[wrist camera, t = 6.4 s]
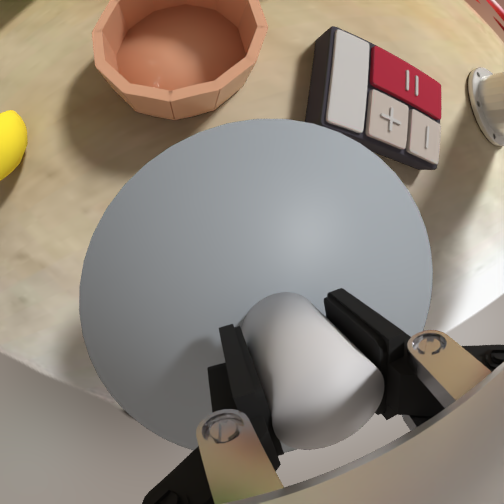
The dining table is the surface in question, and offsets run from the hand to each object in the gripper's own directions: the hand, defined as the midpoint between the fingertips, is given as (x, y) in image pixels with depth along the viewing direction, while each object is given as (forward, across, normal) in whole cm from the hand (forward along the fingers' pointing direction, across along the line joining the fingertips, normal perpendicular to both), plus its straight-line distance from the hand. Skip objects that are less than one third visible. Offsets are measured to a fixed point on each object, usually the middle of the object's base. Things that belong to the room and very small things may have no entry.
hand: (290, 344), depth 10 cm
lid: (+2, 0, 0) cm, 2 cm away
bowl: (+17, 0, -19) cm, 25 cm away
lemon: (+17, +18, -16) cm, 30 cm away
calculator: (+18, -18, -11) cm, 28 cm away
